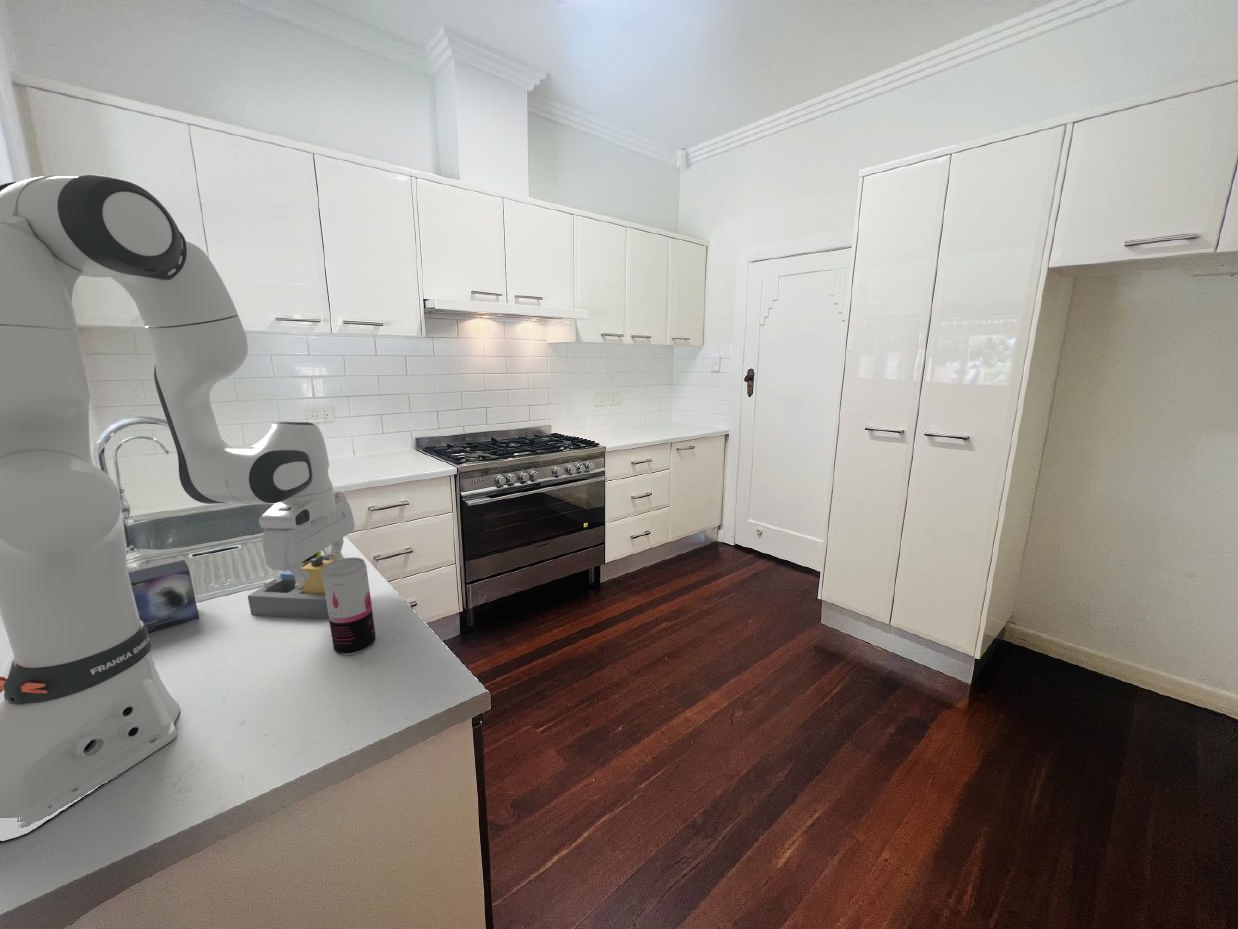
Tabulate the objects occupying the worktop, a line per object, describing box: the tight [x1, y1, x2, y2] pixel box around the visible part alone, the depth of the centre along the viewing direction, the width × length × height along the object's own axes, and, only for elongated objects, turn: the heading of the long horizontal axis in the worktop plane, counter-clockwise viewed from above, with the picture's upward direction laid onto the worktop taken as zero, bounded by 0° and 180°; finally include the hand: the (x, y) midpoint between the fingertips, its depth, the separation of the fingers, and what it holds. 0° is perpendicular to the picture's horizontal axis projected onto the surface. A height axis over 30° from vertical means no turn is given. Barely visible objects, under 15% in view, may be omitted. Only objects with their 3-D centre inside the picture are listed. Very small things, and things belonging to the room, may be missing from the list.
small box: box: [128, 559, 200, 634], centre depth 93 cm, size 11×6×10 cm, turn 136°
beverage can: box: [322, 557, 377, 656], centre depth 85 cm, size 6×6×15 cm
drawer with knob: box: [301, 556, 333, 595], centre depth 99 cm, size 4×4×10 cm
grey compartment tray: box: [247, 570, 329, 620], centre depth 100 cm, size 9×16×5 cm, turn 84°
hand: (320, 571), depth 99 cm, fingers open, 8 cm apart
